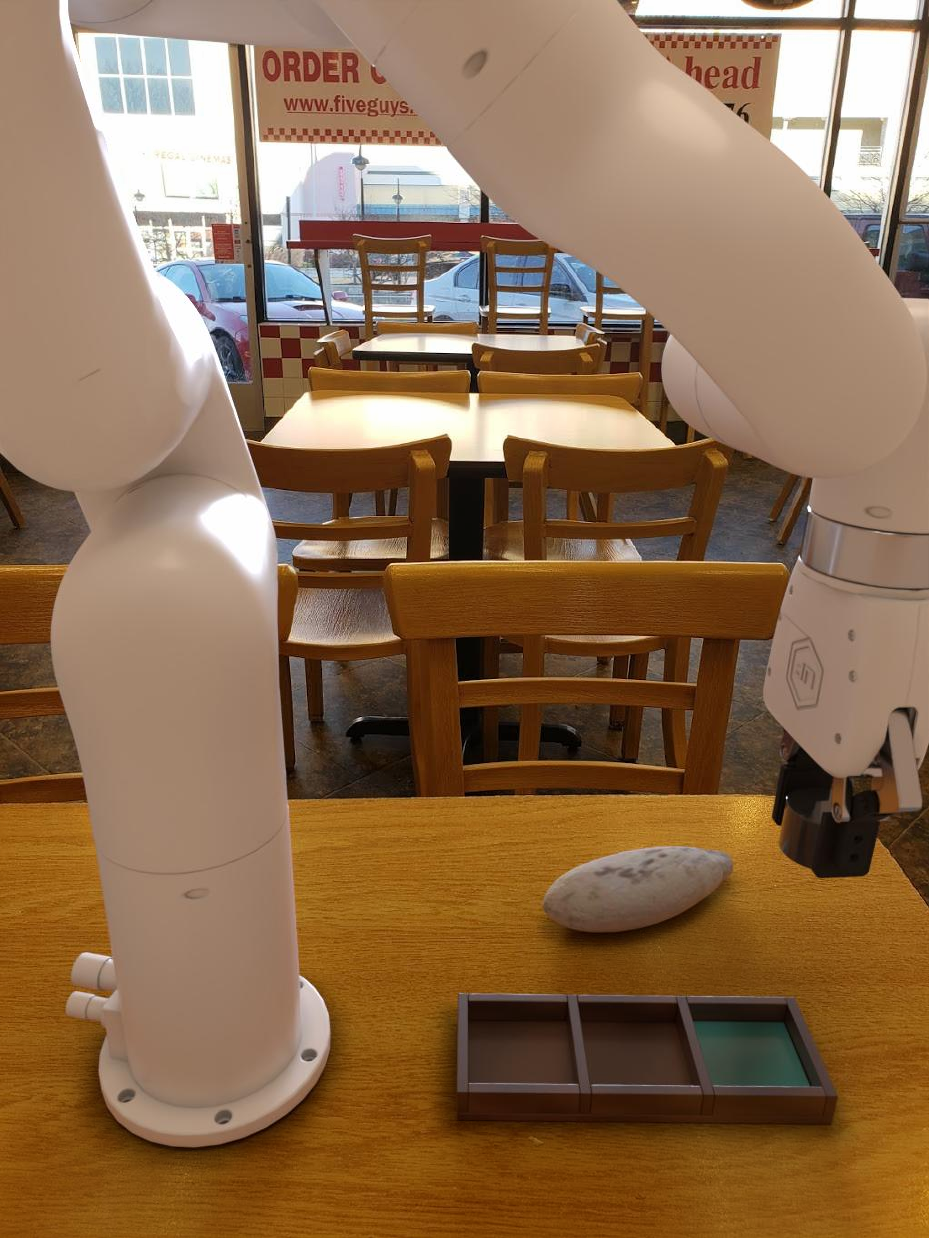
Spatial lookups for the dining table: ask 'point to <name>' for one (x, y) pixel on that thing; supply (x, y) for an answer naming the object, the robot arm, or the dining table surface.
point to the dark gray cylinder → (803, 822)
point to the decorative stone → (635, 888)
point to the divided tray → (639, 1060)
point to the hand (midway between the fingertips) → (817, 844)
